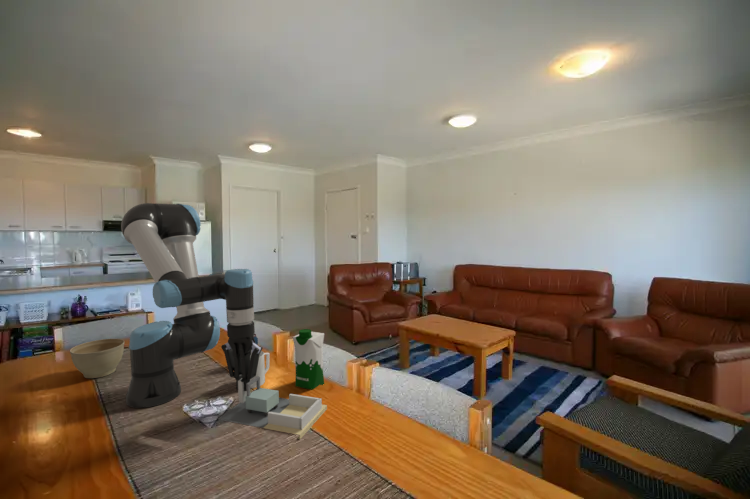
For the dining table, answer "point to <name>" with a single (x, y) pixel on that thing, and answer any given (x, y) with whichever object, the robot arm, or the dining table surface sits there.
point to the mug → (261, 369)
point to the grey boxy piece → (261, 398)
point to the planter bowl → (97, 357)
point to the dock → (281, 415)
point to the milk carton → (309, 359)
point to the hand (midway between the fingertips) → (243, 400)
